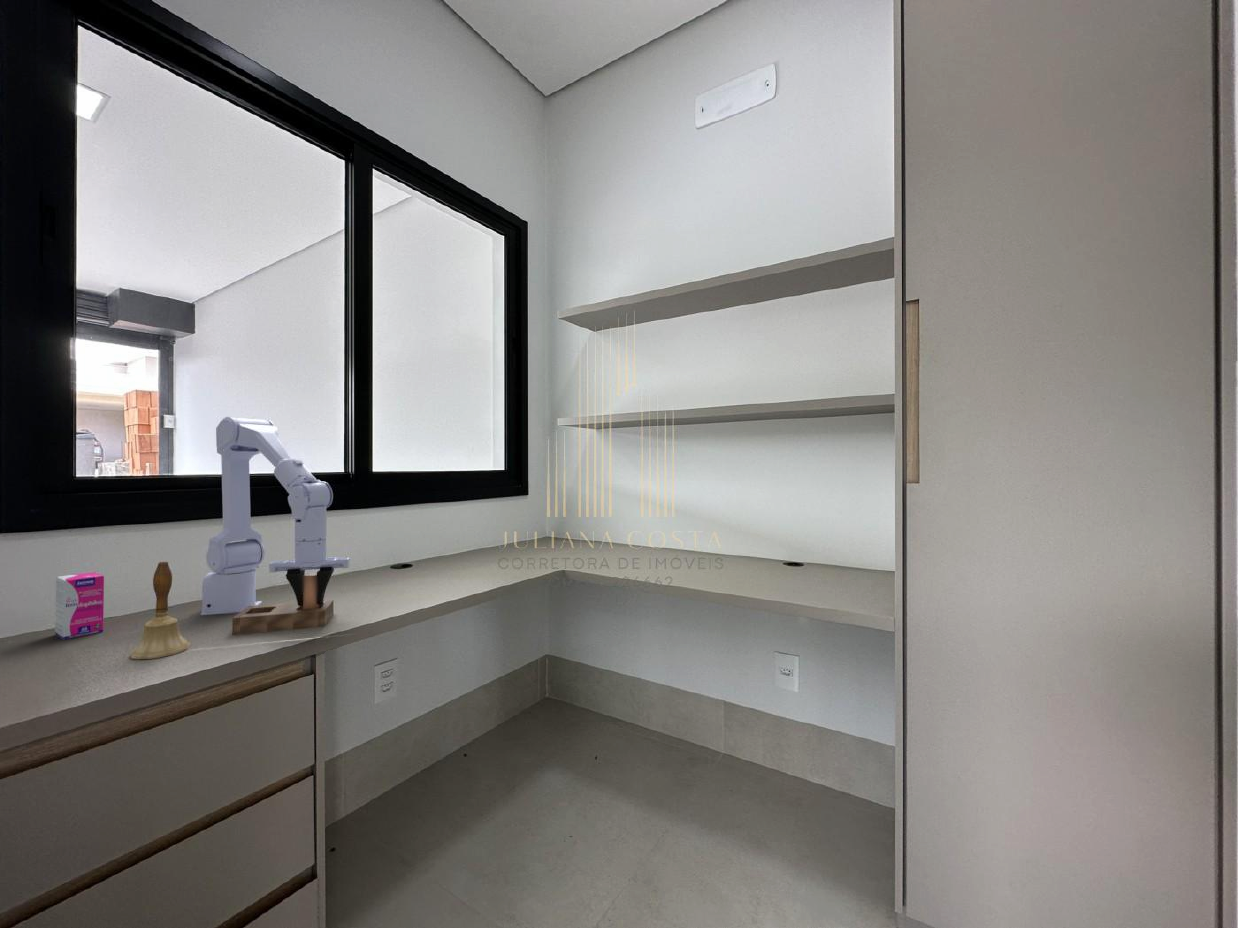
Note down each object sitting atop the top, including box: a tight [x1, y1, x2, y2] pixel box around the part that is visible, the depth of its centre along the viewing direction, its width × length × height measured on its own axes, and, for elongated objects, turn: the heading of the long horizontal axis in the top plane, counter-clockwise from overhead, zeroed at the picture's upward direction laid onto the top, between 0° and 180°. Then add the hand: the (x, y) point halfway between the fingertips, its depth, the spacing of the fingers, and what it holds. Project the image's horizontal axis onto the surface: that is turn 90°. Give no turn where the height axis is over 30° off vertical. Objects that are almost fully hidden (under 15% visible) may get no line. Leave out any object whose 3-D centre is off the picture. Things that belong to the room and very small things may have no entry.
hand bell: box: [129, 561, 192, 660], centre depth 93 cm, size 8×8×16 cm
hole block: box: [231, 599, 334, 636], centre depth 108 cm, size 16×9×4 cm, turn 109°
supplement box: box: [54, 571, 105, 641], centre depth 103 cm, size 6×6×12 cm
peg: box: [303, 573, 319, 610], centre depth 110 cm, size 3×3×9 cm
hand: (310, 603), depth 110 cm, fingers closed on peg, 3 cm apart
